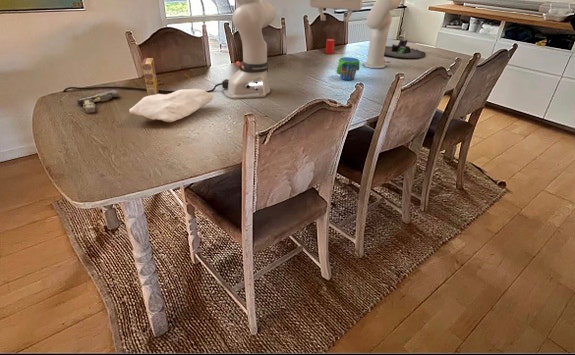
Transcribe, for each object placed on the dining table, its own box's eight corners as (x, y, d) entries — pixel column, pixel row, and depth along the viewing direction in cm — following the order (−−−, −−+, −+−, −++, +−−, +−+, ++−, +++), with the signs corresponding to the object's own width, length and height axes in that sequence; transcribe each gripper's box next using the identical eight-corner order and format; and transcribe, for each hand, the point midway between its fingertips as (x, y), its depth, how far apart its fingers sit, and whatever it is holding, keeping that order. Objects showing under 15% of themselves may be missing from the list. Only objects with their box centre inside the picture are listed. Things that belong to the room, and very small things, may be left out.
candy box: (157, 97, 164) (152, 63, 155) (147, 98, 163) (141, 63, 155) (158, 91, 171) (153, 57, 163) (149, 91, 170) (143, 58, 162)
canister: (328, 54, 241) (330, 41, 237) (323, 52, 245) (325, 39, 240) (334, 53, 244) (336, 40, 239) (329, 51, 247) (331, 38, 243)
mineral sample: (436, 54, 249) (439, 40, 244) (402, 60, 231) (404, 45, 227) (396, 47, 273) (398, 34, 269) (363, 52, 256) (364, 38, 252)
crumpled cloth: (117, 110, 146) (113, 90, 140) (195, 92, 166) (194, 73, 160) (143, 139, 134) (140, 118, 128) (223, 116, 154) (224, 96, 148)
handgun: (128, 97, 156) (111, 87, 164) (86, 107, 144) (70, 97, 152) (129, 103, 157) (113, 94, 165) (88, 114, 146) (72, 103, 154)
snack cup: (351, 73, 205) (353, 55, 200) (364, 79, 198) (367, 60, 193) (329, 77, 198) (331, 58, 192) (342, 83, 191) (344, 63, 185)
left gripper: (367, -19, 133) (362, 22, 140) (315, -21, 140) (313, 18, 148) (362, -17, 128) (358, 24, 136) (308, -20, 135) (307, 20, 143)
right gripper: (338, -23, 223) (335, 8, 232) (317, -22, 213) (315, 9, 223) (347, -22, 218) (343, 10, 227) (326, -21, 209) (323, 11, 218)
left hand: (334, 21), depth 142 cm, fingers open, 8 cm apart
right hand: (329, 9), depth 225 cm, fingers open, 9 cm apart
